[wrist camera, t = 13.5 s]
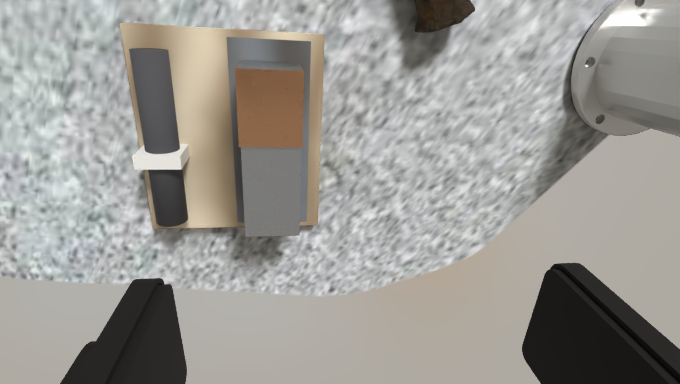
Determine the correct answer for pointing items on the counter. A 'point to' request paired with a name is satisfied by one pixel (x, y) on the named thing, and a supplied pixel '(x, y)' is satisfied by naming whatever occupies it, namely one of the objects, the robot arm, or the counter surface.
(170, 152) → the rod
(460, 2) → the hand tool
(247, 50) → the board
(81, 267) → the counter surface
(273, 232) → the grey and copper block
